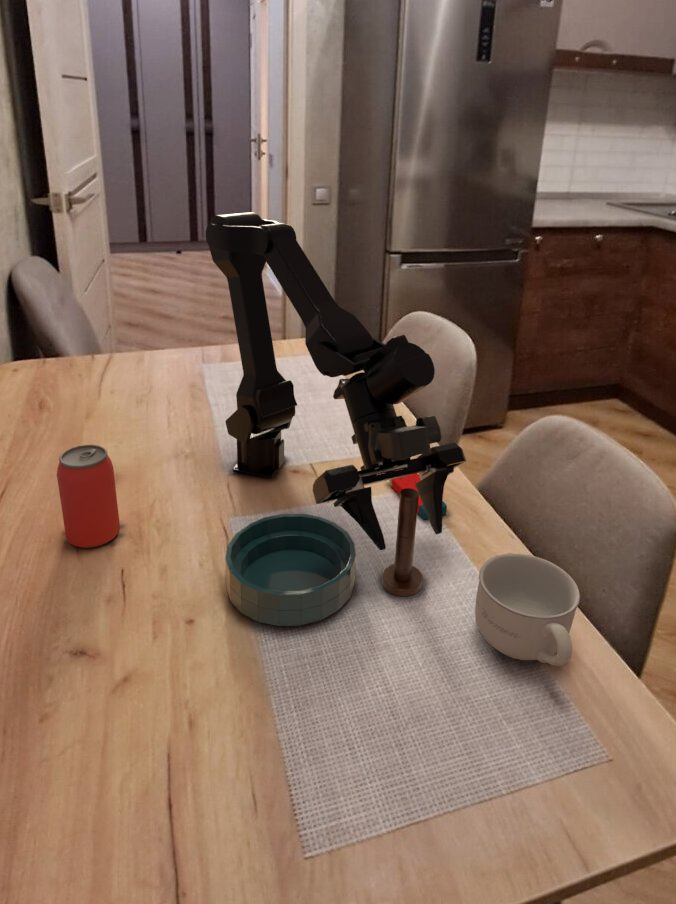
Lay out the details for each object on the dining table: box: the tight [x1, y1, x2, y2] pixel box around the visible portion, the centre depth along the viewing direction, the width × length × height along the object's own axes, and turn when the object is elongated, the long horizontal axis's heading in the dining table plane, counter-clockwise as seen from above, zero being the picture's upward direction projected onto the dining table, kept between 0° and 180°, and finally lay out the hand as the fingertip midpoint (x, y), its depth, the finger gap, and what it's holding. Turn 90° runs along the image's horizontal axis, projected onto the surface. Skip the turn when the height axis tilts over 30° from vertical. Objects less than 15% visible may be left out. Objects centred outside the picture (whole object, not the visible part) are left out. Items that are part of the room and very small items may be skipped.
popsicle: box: [389, 470, 448, 520], centre depth 102 cm, size 4×2×15 cm
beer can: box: [56, 444, 121, 549], centre depth 85 cm, size 7×7×12 cm
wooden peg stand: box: [381, 488, 423, 597], centre depth 80 cm, size 5×5×13 cm
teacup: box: [474, 552, 581, 667], centre depth 72 cm, size 14×11×8 cm
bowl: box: [224, 513, 357, 627], centre depth 80 cm, size 15×15×5 cm
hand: (411, 541), depth 79 cm, fingers open, 7 cm apart
